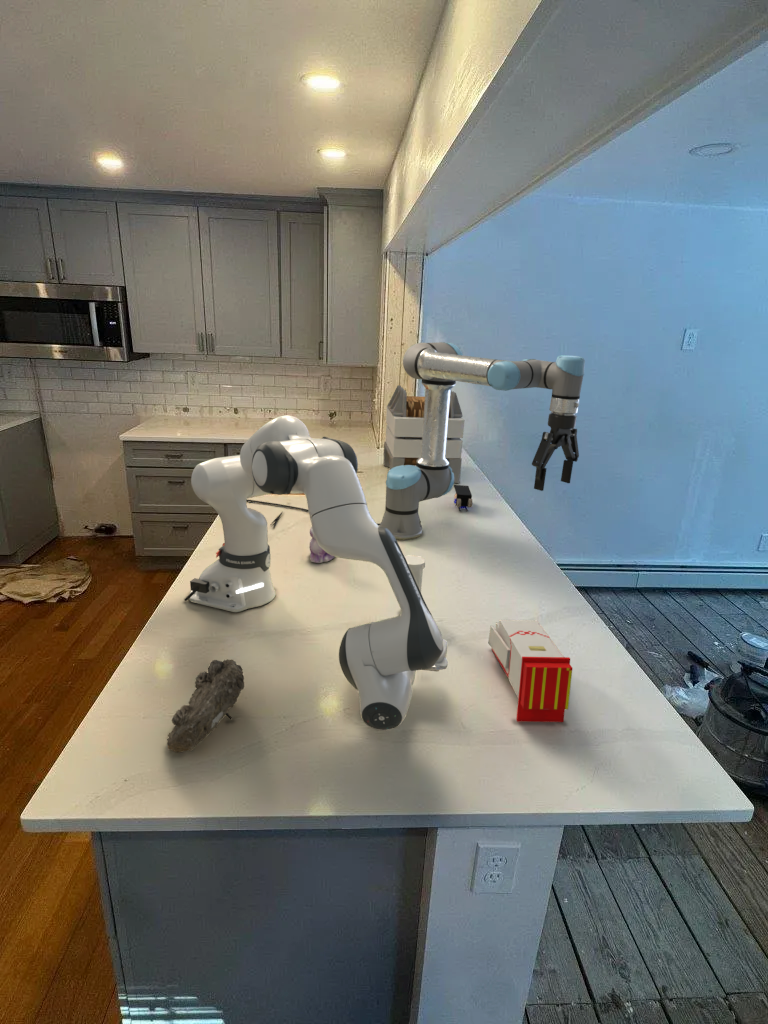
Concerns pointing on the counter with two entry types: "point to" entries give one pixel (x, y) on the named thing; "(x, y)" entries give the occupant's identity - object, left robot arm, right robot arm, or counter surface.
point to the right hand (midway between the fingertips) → (552, 485)
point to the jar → (417, 579)
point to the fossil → (206, 705)
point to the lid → (415, 562)
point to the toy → (533, 669)
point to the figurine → (318, 551)
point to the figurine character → (462, 497)
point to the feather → (276, 520)
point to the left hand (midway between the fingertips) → (402, 628)
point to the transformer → (419, 431)
